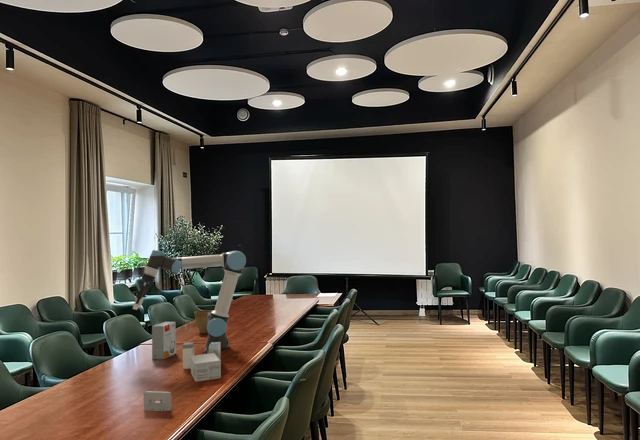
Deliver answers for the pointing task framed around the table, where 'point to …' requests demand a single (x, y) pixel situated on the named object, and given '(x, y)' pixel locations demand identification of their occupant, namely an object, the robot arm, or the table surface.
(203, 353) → the plate
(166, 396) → the cassette
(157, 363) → the table surface
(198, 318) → the plant pot
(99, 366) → the table surface
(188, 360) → the white and grey box
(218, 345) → the grey boxy device
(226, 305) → the robot arm
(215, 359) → the supplement box
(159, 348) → the hard drive box
